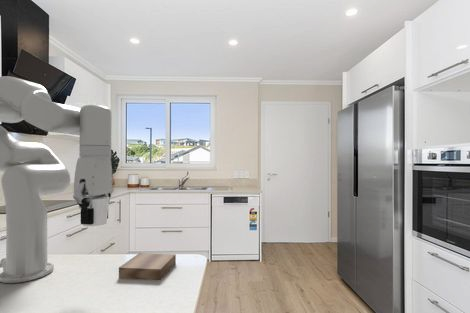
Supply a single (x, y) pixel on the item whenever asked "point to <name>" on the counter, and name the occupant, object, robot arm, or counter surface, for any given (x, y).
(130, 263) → the walnut base
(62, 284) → the counter surface
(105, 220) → the white and grey cylinder
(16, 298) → the counter surface
